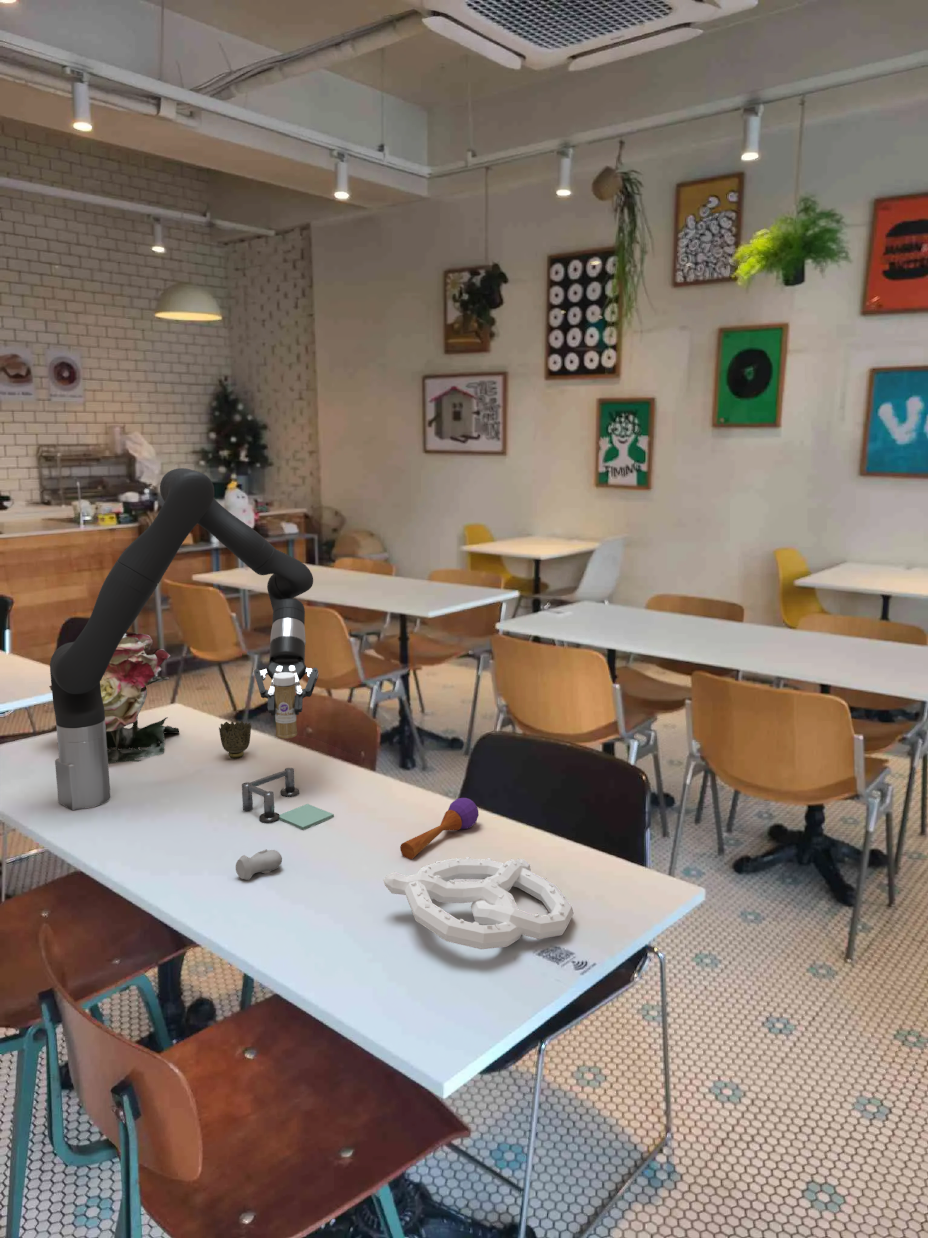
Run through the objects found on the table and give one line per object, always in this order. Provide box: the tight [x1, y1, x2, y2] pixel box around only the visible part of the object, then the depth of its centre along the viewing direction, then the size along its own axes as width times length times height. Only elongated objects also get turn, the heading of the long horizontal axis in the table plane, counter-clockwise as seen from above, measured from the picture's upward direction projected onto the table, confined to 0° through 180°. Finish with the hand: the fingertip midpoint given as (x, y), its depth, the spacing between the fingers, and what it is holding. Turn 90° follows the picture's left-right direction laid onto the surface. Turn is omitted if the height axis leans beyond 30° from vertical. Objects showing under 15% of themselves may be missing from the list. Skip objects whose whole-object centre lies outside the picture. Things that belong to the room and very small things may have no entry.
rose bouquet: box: [48, 631, 180, 765], centre depth 210 cm, size 26×29×30 cm
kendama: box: [399, 797, 480, 860], centre depth 167 cm, size 6×6×20 cm
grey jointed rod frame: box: [241, 767, 301, 824], centre depth 181 cm, size 15×11×6 cm
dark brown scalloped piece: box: [218, 720, 252, 760], centre depth 208 cm, size 8×7×8 cm
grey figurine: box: [235, 849, 283, 881], centre depth 153 cm, size 4×8×5 cm
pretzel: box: [382, 856, 575, 950], centre depth 139 cm, size 28×24×6 cm
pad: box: [278, 803, 335, 831], centre depth 176 cm, size 8×8×1 cm
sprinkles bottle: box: [273, 672, 298, 739], centre depth 184 cm, size 5×5×13 cm
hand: (285, 713), depth 183 cm, fingers closed on sprinkles bottle, 4 cm apart
